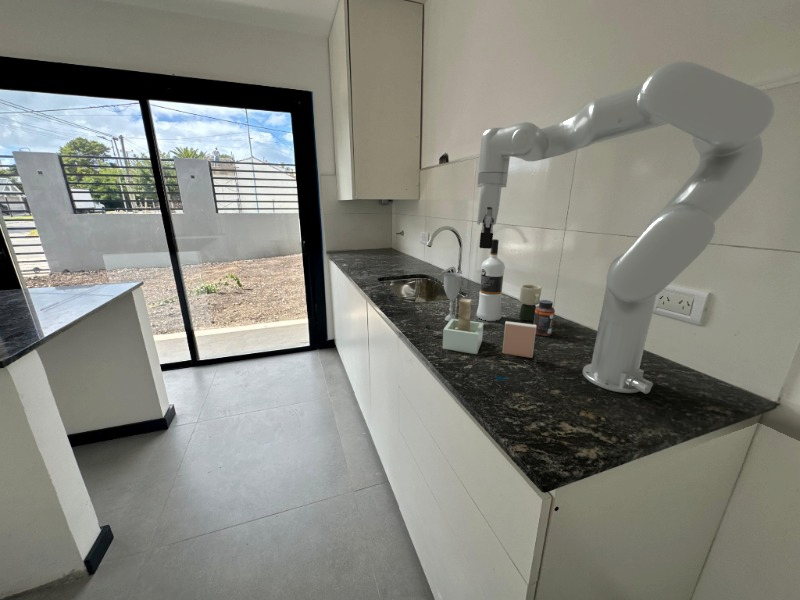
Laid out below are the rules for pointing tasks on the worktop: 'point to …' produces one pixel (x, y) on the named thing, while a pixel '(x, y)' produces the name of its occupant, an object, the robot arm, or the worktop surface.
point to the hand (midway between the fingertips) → (485, 245)
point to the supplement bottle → (544, 318)
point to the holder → (462, 337)
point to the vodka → (491, 286)
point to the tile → (519, 339)
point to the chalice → (452, 290)
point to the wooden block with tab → (464, 315)
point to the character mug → (529, 301)
